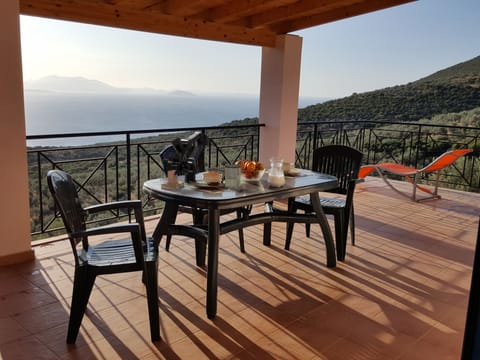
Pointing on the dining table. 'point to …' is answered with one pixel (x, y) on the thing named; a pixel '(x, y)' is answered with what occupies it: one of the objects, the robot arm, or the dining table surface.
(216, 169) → the food container
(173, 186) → the rack
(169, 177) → the pink tall block
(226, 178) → the coffee can
